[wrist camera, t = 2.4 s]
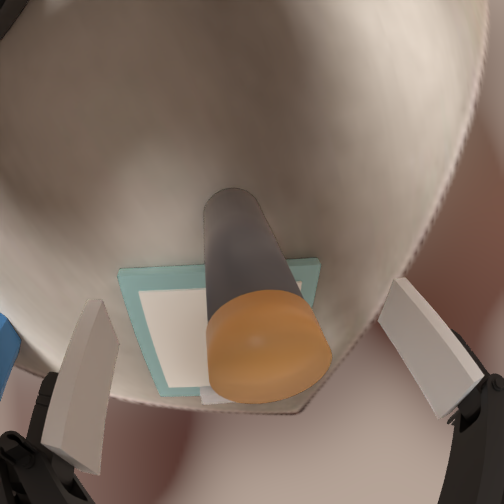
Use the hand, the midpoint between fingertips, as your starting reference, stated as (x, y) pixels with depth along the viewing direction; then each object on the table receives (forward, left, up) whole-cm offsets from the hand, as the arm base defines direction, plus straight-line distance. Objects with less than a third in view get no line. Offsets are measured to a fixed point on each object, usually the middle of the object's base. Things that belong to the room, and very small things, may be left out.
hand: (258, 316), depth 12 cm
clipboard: (+13, -1, -10) cm, 16 cm away
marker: (0, 0, -10) cm, 10 cm away
